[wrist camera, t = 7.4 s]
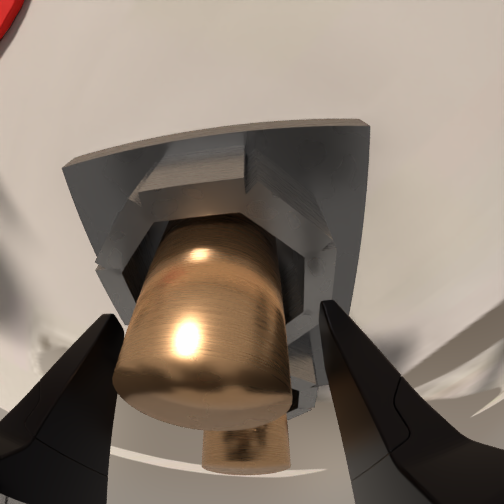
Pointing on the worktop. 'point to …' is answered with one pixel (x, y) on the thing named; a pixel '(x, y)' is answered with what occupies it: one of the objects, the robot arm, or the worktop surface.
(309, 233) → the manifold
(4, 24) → the tow hook
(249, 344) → the brass peg
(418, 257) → the worktop surface
